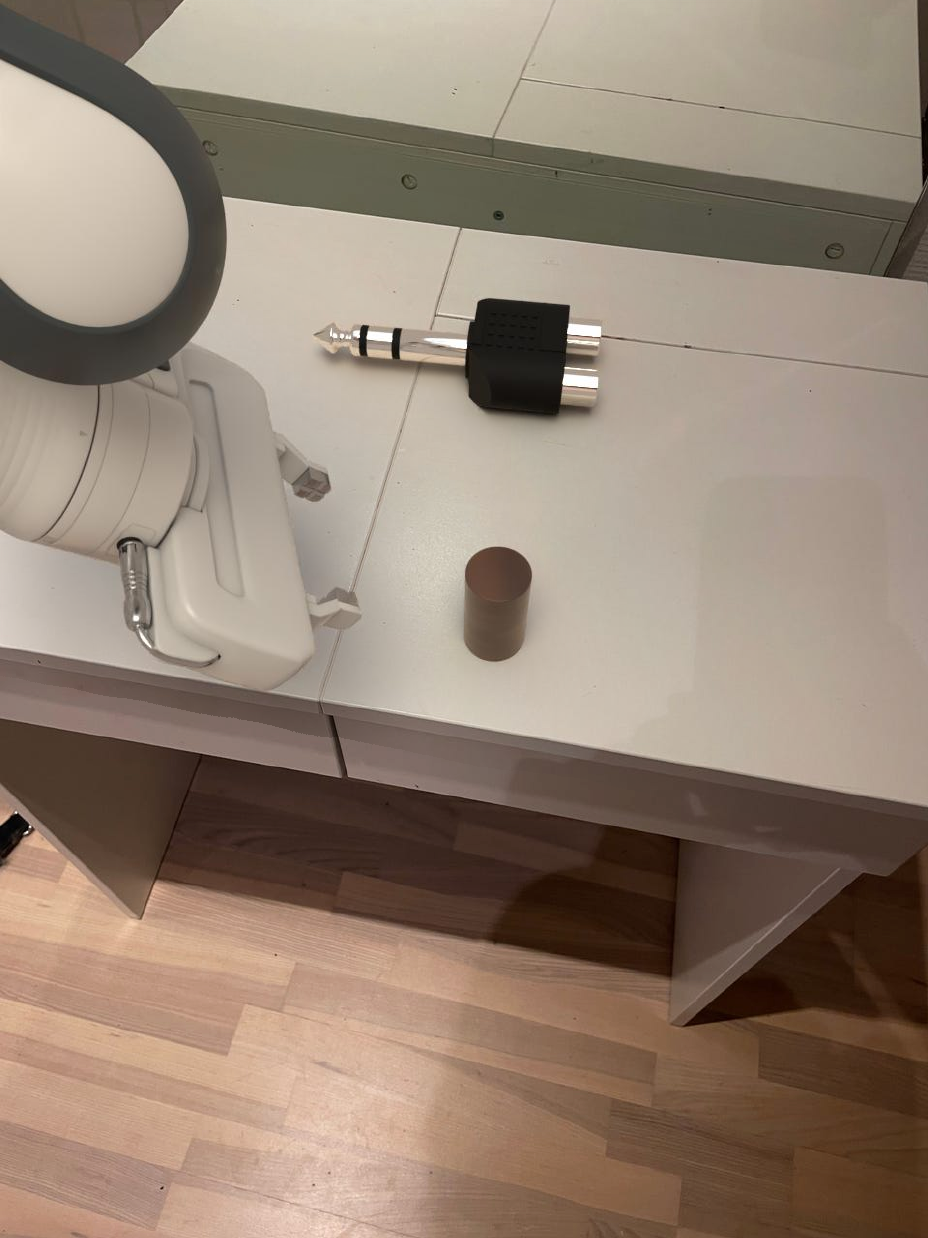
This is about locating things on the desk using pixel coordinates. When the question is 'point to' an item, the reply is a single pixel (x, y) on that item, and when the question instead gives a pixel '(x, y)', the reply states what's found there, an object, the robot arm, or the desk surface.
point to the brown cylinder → (496, 602)
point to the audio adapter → (495, 353)
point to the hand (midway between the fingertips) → (337, 547)
